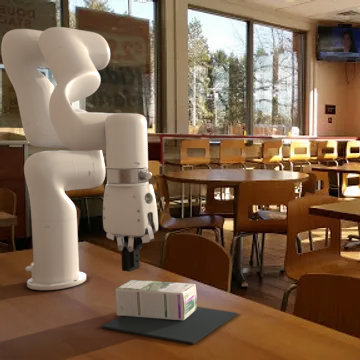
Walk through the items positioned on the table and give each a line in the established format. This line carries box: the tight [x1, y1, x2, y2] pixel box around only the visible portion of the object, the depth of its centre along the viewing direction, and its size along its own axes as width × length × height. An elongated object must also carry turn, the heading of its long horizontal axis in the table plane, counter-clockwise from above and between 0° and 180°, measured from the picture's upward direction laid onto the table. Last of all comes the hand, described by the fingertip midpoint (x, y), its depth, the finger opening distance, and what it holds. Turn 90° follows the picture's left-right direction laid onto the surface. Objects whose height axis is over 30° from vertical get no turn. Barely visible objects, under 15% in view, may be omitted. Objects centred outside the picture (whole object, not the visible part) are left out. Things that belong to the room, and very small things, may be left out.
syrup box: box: [114, 279, 198, 320], centre depth 98 cm, size 6×6×14 cm
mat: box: [101, 306, 238, 345], centre depth 95 cm, size 20×15×1 cm
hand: (131, 269), depth 98 cm, fingers closed
